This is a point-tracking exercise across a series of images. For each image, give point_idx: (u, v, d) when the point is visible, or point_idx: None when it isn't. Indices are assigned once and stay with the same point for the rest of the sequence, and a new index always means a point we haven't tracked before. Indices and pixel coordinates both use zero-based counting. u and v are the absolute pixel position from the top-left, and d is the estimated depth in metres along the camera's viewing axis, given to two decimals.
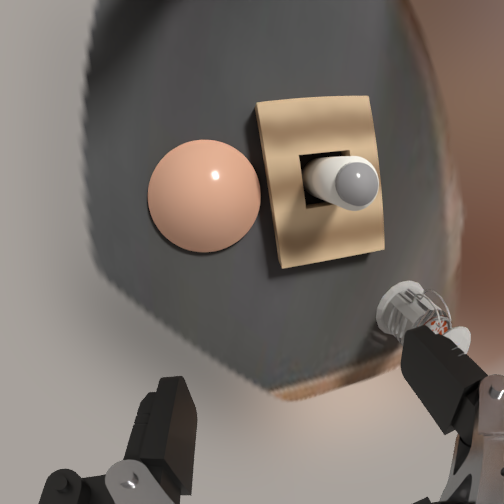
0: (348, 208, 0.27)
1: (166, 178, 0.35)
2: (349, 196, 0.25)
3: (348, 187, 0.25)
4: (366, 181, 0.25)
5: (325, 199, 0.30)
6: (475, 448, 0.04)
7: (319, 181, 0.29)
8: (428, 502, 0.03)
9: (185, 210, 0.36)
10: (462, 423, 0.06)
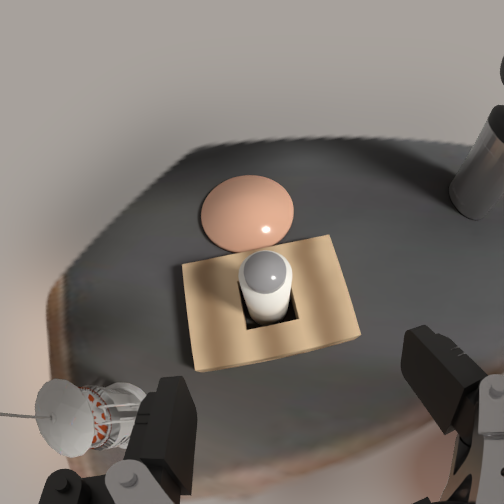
0: (240, 270, 0.29)
1: (261, 185, 0.47)
2: (252, 262, 0.28)
3: (260, 260, 0.28)
4: (268, 277, 0.28)
5: None
6: (475, 448, 0.04)
7: None
8: (428, 502, 0.03)
9: (236, 199, 0.46)
10: (462, 422, 0.06)
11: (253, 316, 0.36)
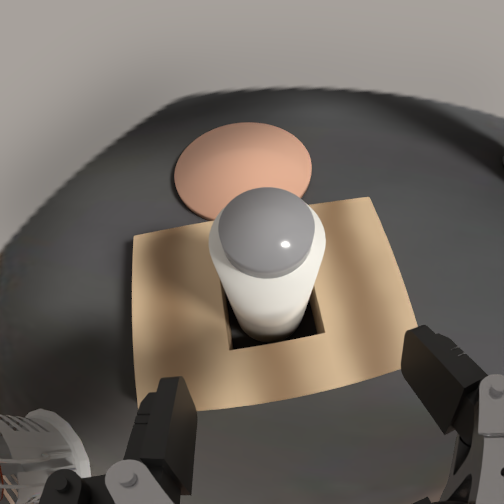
0: (214, 228, 0.14)
1: (264, 134, 0.31)
2: (239, 207, 0.13)
3: (257, 204, 0.13)
4: (274, 239, 0.12)
5: None
6: (475, 448, 0.04)
7: None
8: (428, 502, 0.03)
9: (227, 150, 0.30)
10: (462, 422, 0.06)
11: (243, 326, 0.20)
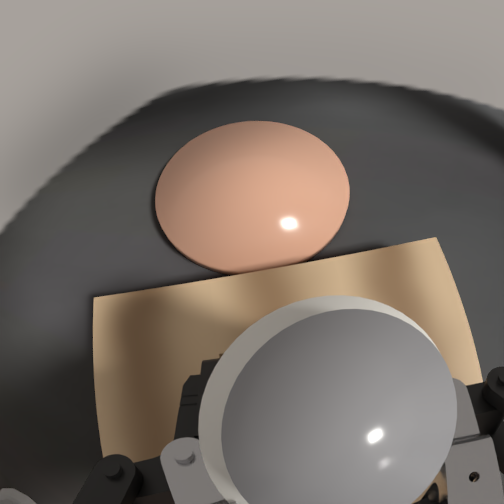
0: (209, 400, 0.05)
1: (280, 137, 0.23)
2: (277, 379, 0.04)
3: (328, 367, 0.04)
4: (370, 468, 0.03)
5: None
6: None
7: None
8: (428, 502, 0.03)
9: (230, 159, 0.22)
10: None
11: None
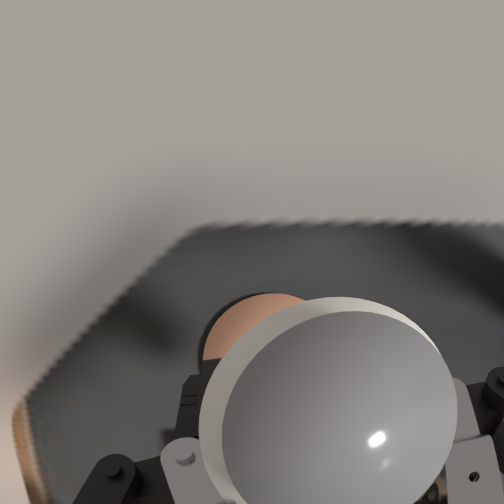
0: (210, 402, 0.05)
1: None
2: (277, 381, 0.04)
3: (329, 369, 0.04)
4: (370, 469, 0.03)
5: None
6: None
7: None
8: (428, 502, 0.03)
9: None
10: None
11: None
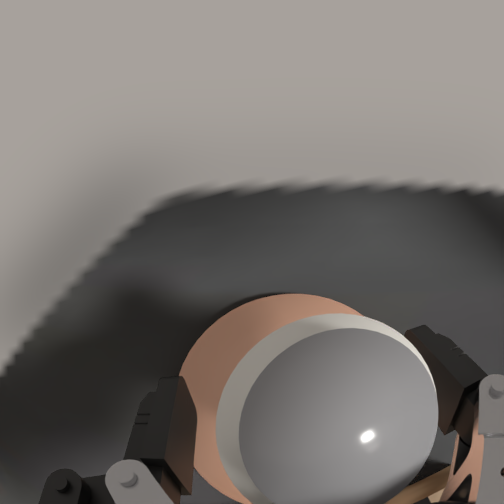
0: (225, 405, 0.06)
1: None
2: (285, 387, 0.05)
3: (328, 377, 0.05)
4: (363, 461, 0.04)
5: None
6: (475, 448, 0.04)
7: None
8: (428, 502, 0.03)
9: None
10: (462, 422, 0.06)
11: None
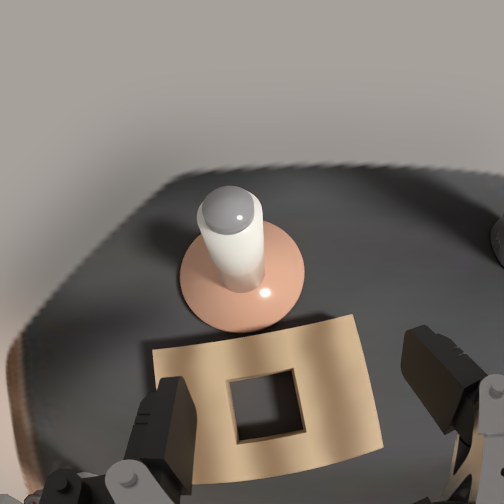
0: (200, 209, 0.24)
1: None
2: (213, 197, 0.23)
3: (223, 195, 0.23)
4: (231, 213, 0.22)
5: None
6: (475, 448, 0.04)
7: None
8: (428, 502, 0.03)
9: None
10: (462, 422, 0.06)
11: (222, 278, 0.30)
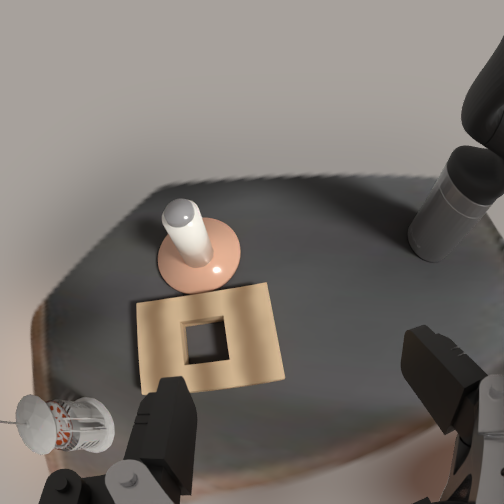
0: (164, 213, 0.39)
1: (213, 229, 0.51)
2: (170, 205, 0.38)
3: (176, 204, 0.38)
4: (179, 215, 0.38)
5: None
6: (475, 448, 0.04)
7: None
8: (428, 502, 0.03)
9: None
10: (462, 423, 0.06)
11: (182, 257, 0.46)
